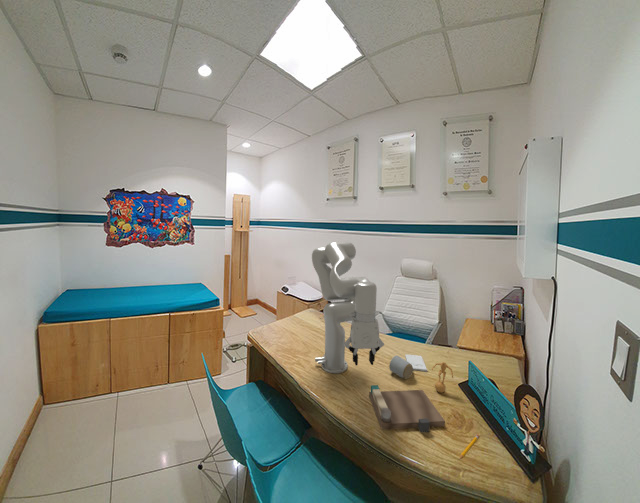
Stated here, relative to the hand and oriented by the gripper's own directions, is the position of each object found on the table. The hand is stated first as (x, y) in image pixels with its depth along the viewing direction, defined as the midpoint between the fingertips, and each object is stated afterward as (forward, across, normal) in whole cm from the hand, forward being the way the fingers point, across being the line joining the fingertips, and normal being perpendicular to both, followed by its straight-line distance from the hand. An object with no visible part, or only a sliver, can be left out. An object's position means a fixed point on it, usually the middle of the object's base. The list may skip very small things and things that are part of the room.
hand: (363, 362), depth 92 cm
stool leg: (+15, +6, -3) cm, 17 cm away
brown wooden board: (+17, +15, -3) cm, 23 cm away
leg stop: (+17, +18, -12) cm, 28 cm away
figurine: (+18, +35, +7) cm, 40 cm away
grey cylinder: (+18, +24, +19) cm, 35 cm away
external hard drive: (+18, +34, +27) cm, 47 cm away
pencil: (+18, +29, -19) cm, 39 cm away
